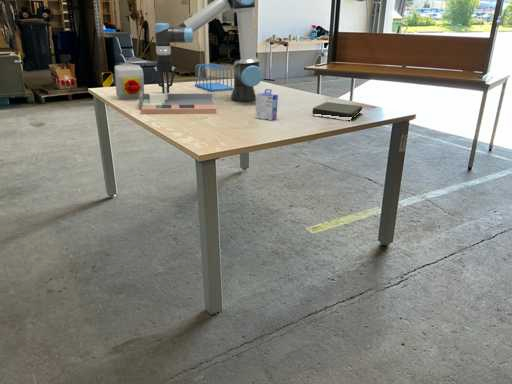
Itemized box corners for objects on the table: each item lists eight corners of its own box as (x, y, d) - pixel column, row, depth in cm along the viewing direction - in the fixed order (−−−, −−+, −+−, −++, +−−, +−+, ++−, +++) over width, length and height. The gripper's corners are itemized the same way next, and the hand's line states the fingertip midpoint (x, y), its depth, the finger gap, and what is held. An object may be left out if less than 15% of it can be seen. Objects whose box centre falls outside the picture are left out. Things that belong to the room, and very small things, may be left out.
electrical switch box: (120, 105, 248) (118, 70, 238) (116, 97, 260) (114, 63, 250) (146, 104, 254) (144, 70, 244) (141, 96, 265) (139, 63, 255)
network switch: (356, 123, 216) (357, 113, 214) (310, 118, 223) (311, 108, 222) (362, 114, 237) (363, 104, 235) (320, 109, 244) (320, 100, 242)
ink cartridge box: (277, 119, 218) (278, 89, 212) (271, 121, 213) (273, 91, 208) (260, 116, 222) (261, 87, 217) (254, 118, 218) (255, 89, 212)
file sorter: (194, 86, 305) (194, 64, 300) (216, 85, 314) (216, 63, 308) (210, 92, 286) (209, 68, 280) (233, 90, 294) (233, 67, 289)
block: (165, 100, 242) (164, 92, 240) (165, 103, 234) (164, 94, 233) (150, 100, 240) (150, 92, 239) (149, 103, 233) (149, 94, 231)
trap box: (212, 103, 251) (211, 90, 248) (216, 113, 225) (216, 100, 223) (142, 103, 244) (141, 91, 241) (138, 114, 219) (137, 100, 216)
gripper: (150, 54, 224) (153, 100, 233) (176, 55, 226) (178, 100, 235) (151, 53, 231) (154, 98, 240) (176, 53, 233) (178, 97, 242)
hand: (166, 99), depth 238 cm, fingers closed
